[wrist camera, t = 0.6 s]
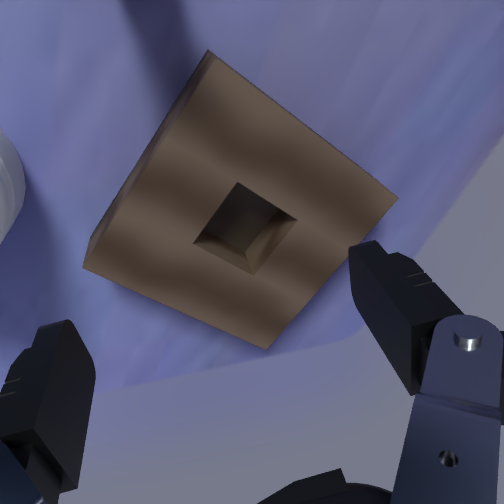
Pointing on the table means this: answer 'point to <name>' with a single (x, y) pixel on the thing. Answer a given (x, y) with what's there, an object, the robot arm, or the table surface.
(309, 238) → the socket block
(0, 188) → the honey pot
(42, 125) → the table surface
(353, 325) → the table surface
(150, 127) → the table surface
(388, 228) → the table surface
